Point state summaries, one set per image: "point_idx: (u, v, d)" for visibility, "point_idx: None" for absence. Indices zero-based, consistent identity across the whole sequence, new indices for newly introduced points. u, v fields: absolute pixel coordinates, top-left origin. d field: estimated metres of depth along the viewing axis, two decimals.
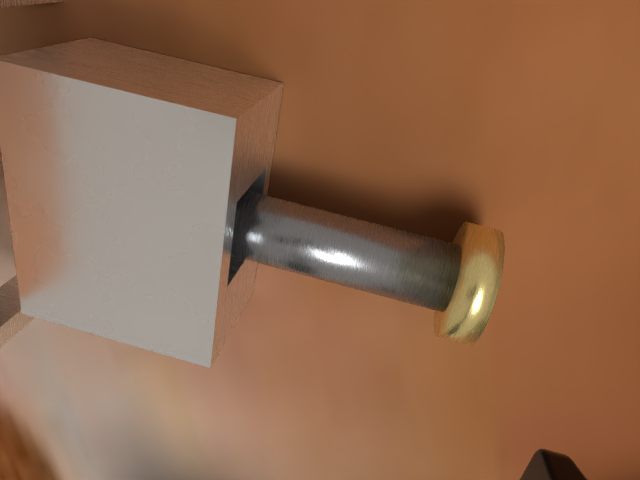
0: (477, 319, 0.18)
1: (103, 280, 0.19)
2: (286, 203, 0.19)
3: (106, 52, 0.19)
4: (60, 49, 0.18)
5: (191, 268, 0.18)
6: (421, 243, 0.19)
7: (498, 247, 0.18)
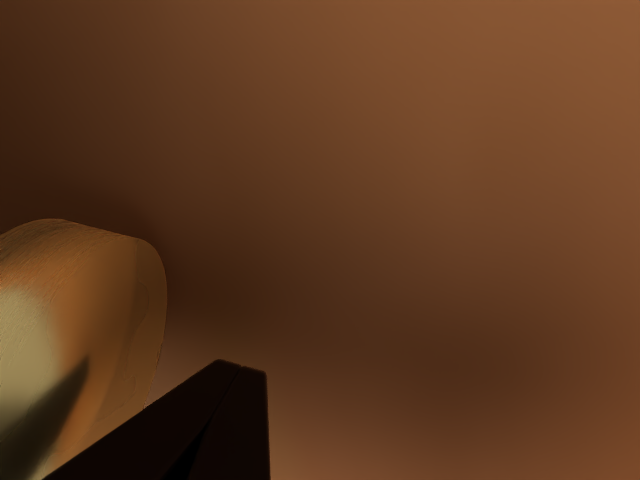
0: None
1: None
2: None
3: None
4: None
5: None
6: None
7: (37, 294, 0.06)
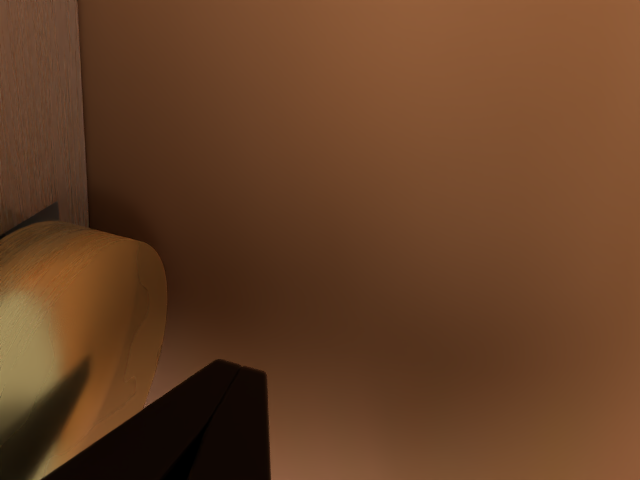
0: None
1: None
2: None
3: None
4: None
5: None
6: None
7: (40, 296, 0.06)
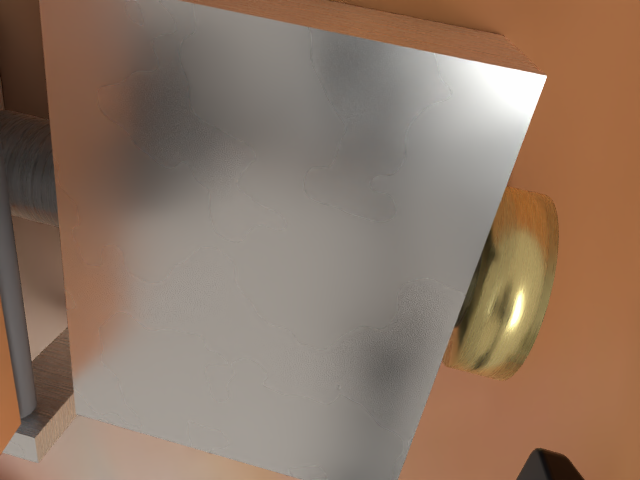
0: (515, 341, 0.10)
1: (220, 369, 0.11)
2: None
3: None
4: None
5: (386, 354, 0.10)
6: None
7: (547, 219, 0.11)
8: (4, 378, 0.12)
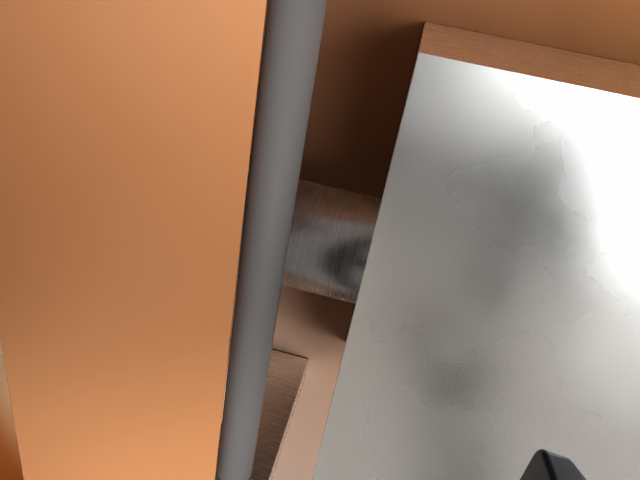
0: None
1: (499, 446, 0.11)
2: None
3: (501, 44, 0.11)
4: (449, 38, 0.10)
5: None
6: None
7: None
8: (205, 435, 0.12)
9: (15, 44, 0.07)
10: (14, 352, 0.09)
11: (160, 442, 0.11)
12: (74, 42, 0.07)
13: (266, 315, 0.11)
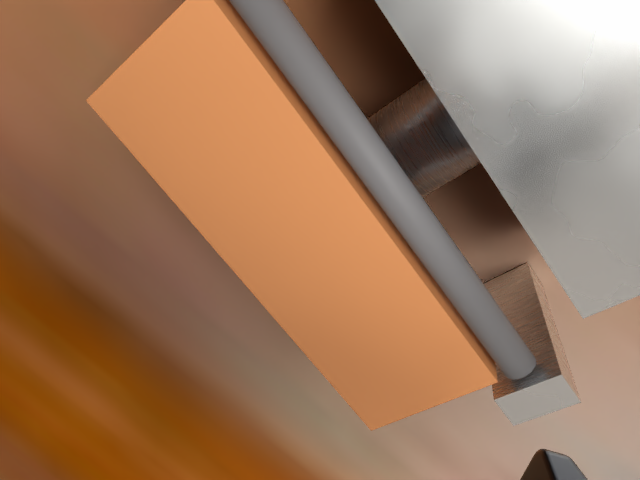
0: None
1: None
2: None
3: None
4: None
5: None
6: None
7: None
8: (446, 334, 0.13)
9: (148, 134, 0.12)
10: (271, 306, 0.14)
11: (413, 349, 0.13)
12: (164, 113, 0.12)
13: (407, 210, 0.12)
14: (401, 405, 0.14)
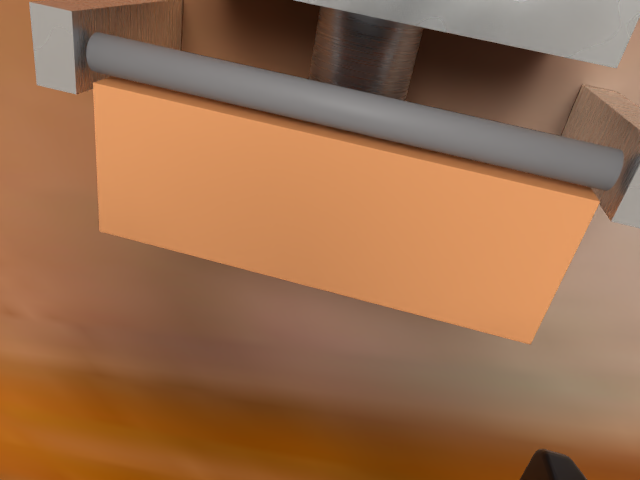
0: None
1: None
2: None
3: None
4: None
5: None
6: None
7: None
8: (504, 194, 0.11)
9: (150, 220, 0.14)
10: (342, 289, 0.13)
11: (489, 232, 0.12)
12: (147, 196, 0.13)
13: (365, 113, 0.11)
14: (533, 297, 0.12)
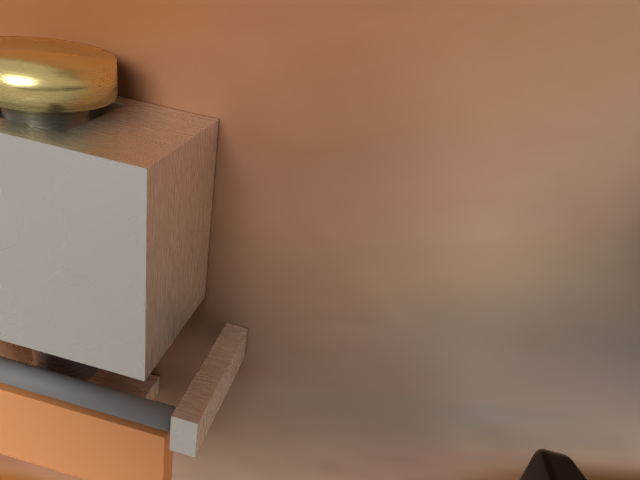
0: None
1: (64, 275, 0.17)
2: None
3: None
4: None
5: (6, 167, 0.15)
6: None
7: None
8: (116, 429, 0.20)
9: None
10: (52, 466, 0.22)
11: (117, 446, 0.20)
12: None
13: (32, 386, 0.19)
14: (152, 479, 0.21)
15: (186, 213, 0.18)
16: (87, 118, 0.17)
